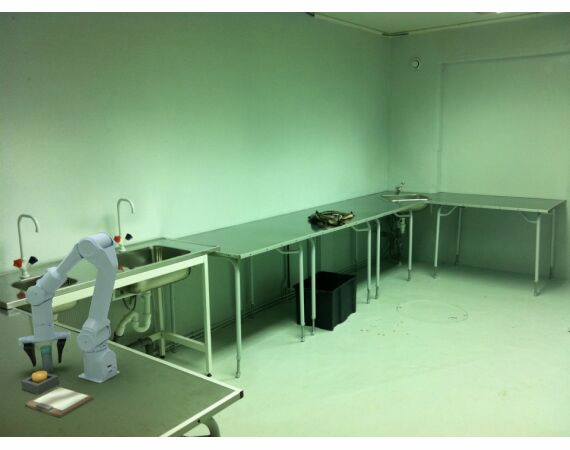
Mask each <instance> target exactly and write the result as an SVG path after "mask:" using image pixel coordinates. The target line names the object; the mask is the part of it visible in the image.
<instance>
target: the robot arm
mask: <svg viewBox="0 0 570 450" xmlns="http://www.w3.org/2000/svg"><path fill="white" fill-rule="evenodd" d="M116 243H117V242H116V241H115V239H114V238H113V237H112V236H111V234H109V233H108V232H106V231H99V232H96V233H95V234H92V235H89V236H85V237H82V238H81V239H80V240H79V241H78V242H77V243H75V244H74V245H73V247H72V249H71V250H70V251H69V252H68V253H67V254H66V256H65V257H64V258H63V259H62V261H61V262H60V263H59V264H58V265H57V266H52V267H48V268H46V270H45V271H44V272H45V274H44V275H43V276H42V277H41V278H39V279H37V280H36V281H35V283H36V284H35V285H32V286H29V287H28V288H27V290H26V292H25V299H26V301H27V302H28V303H29V305H30V306H31V317H32V327H33V334H31V335H27V336H23V337H22V336H21V337H18V346H19V347H20V346H23V348H22V349H23V351H24V352H25V353H26V355H27V356H28V358H29V360H30V362H31V364H32V367H33V368H36V366H37V357H36V347H35V345H36V344H39V343H47V342H54V341H57V342H56V349H57V358H58V359H57V363H58V364H62V360H63V359H62V358H63V351H64V348H65V346H66V342H67V341H70V340H71V338H72V337H71V335H72V334H71V331H55V323H54V313H53V299H54V297H55V295H56V292H57V291H58V290H59V289H60V287H61V286H63V284H64V283H65V282H66V281H67V280H68V273H69V272H70V271H71V270H72V269H73V268H74V267H75V266H76V265H77V264H78V263H79V262H80V261H82V260H83V259H85V260H86V261H87V262H88V263H90V264H91V265H93V266H94V267H95V268H96V269H97V272H96V273H97V274H96V277H95V283H94V287H93V293H92V297H91V303H90V307H89V312H88V317H87V319H86V320H85V322H84V323H83V325H82V327H81V330H80V332H79V333H78V335H77V337H76V344H77V347H78V348H79V349H80V350H81V352H82V359H83V360H82V361H83V370H84V371H83V372H82V373H80V374H79V375H77V376H78V379H82V380H86V381H90V382H93V383H97V384H102V383H104V382H105V381H108V380H109V379H111V378H113V377H114V376H117V375H118V374H120V371H119V370H118V364H117V354H116V352H115V351H114V350H112V349H111V348H109V346H108V343H109V338H110V337H111V335H112V330H111V325H110V324H111V320H110V319H109V318H108V317H109V316H108V315H109V311H110V305H111V301H112V296H113V292H114V287H115V285H116V283H115V282H116V279H117V275H118V269H119V262H118V256H117V252H116Z"/></svg>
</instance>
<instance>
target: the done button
mask: <svg viewBox="0 0 570 450" xmlns="http://www.w3.org/2000/svg"><path fill="white" fill-rule="evenodd" d="M31 376H32V381H33V382H35V383H40V382H43V381H45V380H47V379H48V378H47V371H43V370H38V371H35V372H32V374H31Z"/></svg>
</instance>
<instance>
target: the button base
mask: <svg viewBox="0 0 570 450" xmlns="http://www.w3.org/2000/svg"><path fill="white" fill-rule="evenodd" d="M47 378H48V379H47V380H45V381H43V382H40V383H35V382H33V381H32V375H31V376H30V377H29V376H28V377H27V378H25V379H22V380H21V381H20V382H21V389H22V390H23V391H27V392H30V393H34V394H37V395H41V394H42V393H44V392H45V391H47V390H51V389H53V388H54V387H55V386H57V385H59V384H60V380H59V375H56V374H54V373H53V374H52V373H51V372H50V373H47Z"/></svg>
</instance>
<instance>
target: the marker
mask: <svg viewBox="0 0 570 450" xmlns="http://www.w3.org/2000/svg"><path fill="white" fill-rule="evenodd" d="M39 349H40V355H41V366H42V371H47V373H50V374H51V373H52V372H54V362H53V350H52V349H53V347H52V345H51V344H44V345H41V346H40V347H39Z"/></svg>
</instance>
